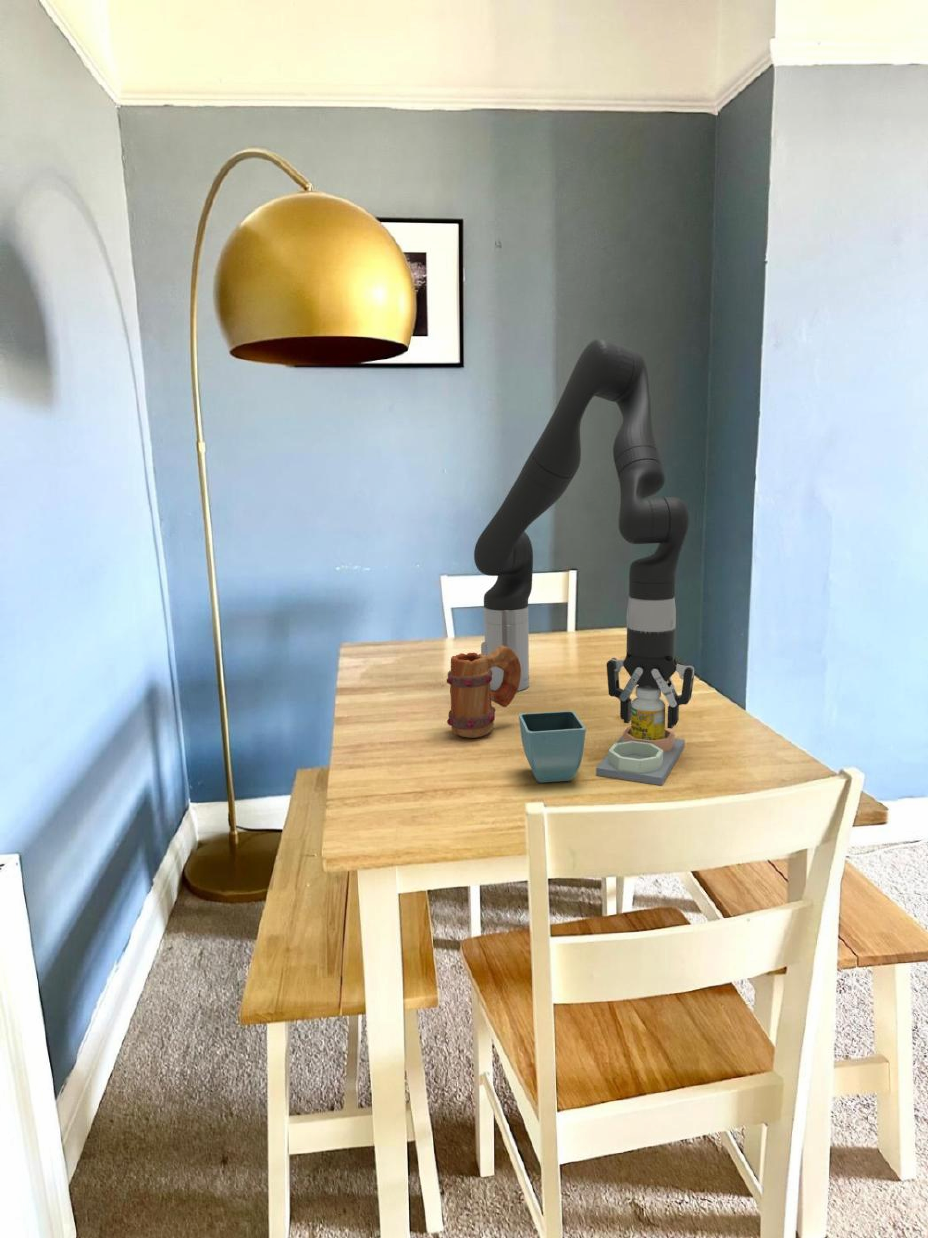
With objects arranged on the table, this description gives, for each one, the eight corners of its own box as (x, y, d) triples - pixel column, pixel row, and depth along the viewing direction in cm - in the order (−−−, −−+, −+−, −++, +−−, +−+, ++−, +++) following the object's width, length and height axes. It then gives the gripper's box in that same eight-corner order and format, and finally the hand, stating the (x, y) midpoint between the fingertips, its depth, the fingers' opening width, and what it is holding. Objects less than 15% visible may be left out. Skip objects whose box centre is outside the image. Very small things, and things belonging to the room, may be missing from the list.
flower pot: (518, 767, 125) (517, 712, 123) (573, 763, 126) (573, 709, 124) (527, 790, 116) (527, 732, 115) (586, 786, 117) (586, 728, 115)
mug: (458, 746, 134) (455, 660, 131) (437, 731, 142) (434, 650, 138) (531, 730, 141) (530, 648, 138) (508, 717, 148) (506, 639, 145)
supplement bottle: (671, 745, 129) (672, 688, 127) (648, 752, 126) (649, 694, 124) (646, 735, 133) (648, 681, 131) (623, 742, 130) (624, 687, 128)
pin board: (596, 775, 121) (596, 755, 120) (625, 738, 136) (625, 720, 135) (662, 785, 116) (662, 765, 116) (684, 746, 131) (685, 728, 131)
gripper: (701, 623, 126) (698, 722, 129) (613, 617, 132) (611, 712, 135) (693, 633, 119) (689, 738, 123) (600, 626, 125) (599, 726, 129)
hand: (648, 724), depth 129 cm, fingers open, 6 cm apart
